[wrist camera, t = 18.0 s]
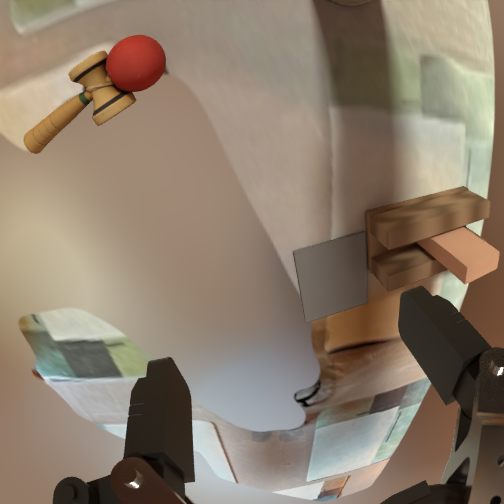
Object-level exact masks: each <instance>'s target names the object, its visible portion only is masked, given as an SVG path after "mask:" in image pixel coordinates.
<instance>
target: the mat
mask: <svg viewBox="0 0 504 504" xmlns="http://www.w3.org/2000/svg"><path fill="white" fill-rule="evenodd" d="M293 253H294V259H295V264H296V270H297V276H298V282H299V287H300V293H301V299H302V305H303V311H304V317H305V322H308V321H312V320H315V319H319V318H322V317H325V316H328V315H332V314H335V313H338V312H341V311H344V310H347V309H350V308H353V307H356V306H359V305H362V304H365V303H368V291H367V257H366V237H365V232H360V233H356V234H353V235H349V236H346V237H342V238H338V239H335V240H331V241H327V242H324V243H320V244H317V245H313V246H309V247H306V248H302V249H298V250H295V251H293Z"/></svg>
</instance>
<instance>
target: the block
mask: <svg viewBox="0 0 504 504" xmlns="http://www.w3.org/2000/svg"><path fill="white" fill-rule="evenodd" d="M416 243H418V244H419V245H420V246H421V247H422V248H424V249H425V250H426V251H427V252H428V253H430V254H431V255H432V256H433V257H434V258H435V259H437V260H438V261H439V262H440V263H441V264H442V265H444V266H445V267H446V268H447V269H448V270H449V271H450V272H452V273H453V274H454V275H455V276H456V277H457V278H458V279H459V280H460V281H462V282H463V283H464V284H467V283H469V282H471V281H473V280H475V279H477V278H479V277H481V276H483V275H485V274H487V273H489V272H491V271H493V270H495V269H497V265H498V260H499V253H500V252H499V251H497V250H496V249H495V248H493V247H492V246H491V245H489V244H487V243H486V242H485V241H483V240H482V239H481V238H479V237H478V236H476V235H475V234H473V233H472V232H470V231H469V230H467V229H466V228H464V227H463V226H461V227H459V228H456V229H453V230H449V231H446V232H443V233H440V234H437V235H434V236H431V237H428V238H425V239H422V240H419V241H416Z"/></svg>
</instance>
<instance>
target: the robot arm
mask: <svg viewBox="0 0 504 504" xmlns="http://www.w3.org/2000/svg"><path fill="white" fill-rule="evenodd" d="M331 1H333V2H335V3H338V4H341V5H346V6H358V5H362V4H365V3H367V2H369V1H372V0H331ZM398 328H399V333H400V336H401V338H402V340H403V342H404V343H405V345H406V346H407V347H408V349H409V350H410V352H411V353H412V355H413V356H414V358H415V359H416V360H417V362H418V363H419V365H420V366H421V368H422V369H423V371H424V372H425V374H426V375H427V377H428V378H429V380H430V381H431V383H432V384H433V386H434V387H435V389H436V391H437V392H438V393H439V395H440V397H441V398H442V400H443V401H444V403H445V405H446V406H447V405H448V404H450V403H452V402H454V401H455V400H457V402H458V403H459V405H460V406H459V408H458V413H457V420H456V427H455V433H454V439H453V444H452V450H451V454H450V458H449V461H448V463H447V465H446V468H445V470H444V473H443V477H442V480H441V484H435V485H429V486H428V484H427V482H426V480H425V481H423V482H420V483H419V484H416V485H414V486H412V487H410V488H408V489H406V490H404V491H401V492H399V493H397V494H394V495H392V496H391V497H389V498H388V499H386V500H385V501H383V502H382V503H381V504H504V348H499V347H494V348H492V347H491V346H490V345H489V344H488V343H487V342H486V340H485V339H484V338H483V337H482V336H481V335H480V334H479V333H478V331H477V330H476V329H475V328H474V327H473V326H472V325H471V324H470V323H469V322H468V320H465V317H464V316H463V315H462V314H461V313H460V312H458V310H457V309H456V308H455V307H454V305H453V304H452V303H451V302H450V301H448V300H446V299H444V298H442V297H440V296H438V295H435V296H432V295H431V294H430V293H429V292H428V291H427V290H426V289H425V288H424V287H423V286H419V287H416V288H413V289H410V290H408V291H405V292H403V293H402V294H401V298H400V311H399V321H398ZM128 415H129V417H128V422H127V431H126V440H125V450H124V457H123V460H121V461H120V462H118V463H117V464H116V465H115V466H114V468H113V469H112V471H111V474H110V475H108V476H106V477H103V478H100V479H97V480H94V481H91V482H87V483H85V482H84V481H82V480H81V479H79V478H76V477H67V478H65V479H63V480H61V481H60V482H59V483H58V484H57V486H56V488H55V490H54V495H53V496H54V497H53V504H195V503H194V502H193V501H192V500H191V499H190V498H189V497H188V496H187V495H186V494H185V484H184V483H187V482H195V474H194V455H193V434H192V404H191V395H190V391H189V388H188V385H187V383H186V381H185V380H184V378H183V376H182V375H181V373H180V371H179V369H178V368H177V366H176V364H175V362H174V361H173V359H172V358H171V357H167V358H163V359H157V360H152V361H149V362H148V366H147V374H146V377H144V378H139V379H138V380H137V382H136V384H135V386H134V387H133V389H132V391H131V398H130V407H129V414H128Z"/></svg>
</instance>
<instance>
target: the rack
mask: <svg viewBox="0 0 504 504" xmlns="http://www.w3.org/2000/svg"><path fill="white" fill-rule="evenodd" d="M489 210H490V201H488V200H487V199H485V198H483V197H481V196H479V195H477V194H475V193H473V192H471V191H469V190H468V188H466V187H464V186H462V187H458V188H454V189H450V190H446V191H442V192H438V193H434V194H430V195H427V196H423V197H419V198H415V199H411V200H407V201H403V202H399V203H395V204H391V205H387V206H383V207H379V208H376V209H372V210H368V211H365V219H366V235H367V255H368V270H369V271H370V272H371V273H373V274H374V275H375V277H376V278H377V279H378V280H379V281H380V283H381V284H382V285H383V286H384V287H385V288H386V290H387V291H391V290H394V289H397V288H400V287H402V286H405V285H408V284H411V283H413V282H416V281H419V280H421V279H424V278H427V277H429V276H432V275H435V274H437V273H440V272H442V271H445V270H447V268H446V267H445V266H444V265H442V264H441V263H440V262H439V261H438V260H437V259H435V258H434V257H433V256H432V255H431V254H430V253H428V252H427V251H426V250H425V249H424V248H422V247H421V246H420V245H419V244H418V243H416V241H419V240H422V239H425V238H428V237H431V236H434V235H437V234H440V233H443V232H446V231H449V230H453V229H456V228H459V227H461V226H463V227H464V228H466V229H467V230H469V231H470V232H472V233H473V234H475V235H476V236H478V237H479V238H481V239H482V240H483V241H485V242H486V240H485V239H483V238H482V237H480V236H479V235H477V234H476V233H474V232H473V231H471V230H470V229H468V228H467V227H466V225H467V224H470V223H473V222H476V221H479V220H482V219H485V218H488V217H489Z"/></svg>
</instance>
